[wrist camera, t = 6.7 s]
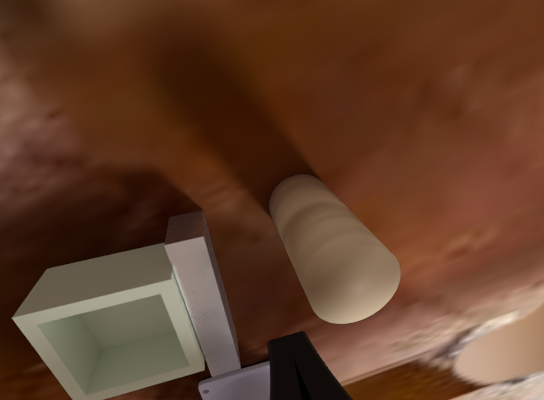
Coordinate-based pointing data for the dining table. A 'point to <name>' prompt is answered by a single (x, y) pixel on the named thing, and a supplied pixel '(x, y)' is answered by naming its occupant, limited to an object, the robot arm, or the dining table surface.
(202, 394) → the robot arm
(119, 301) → the socket block
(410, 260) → the dining table surface
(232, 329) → the rail
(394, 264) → the dowel
